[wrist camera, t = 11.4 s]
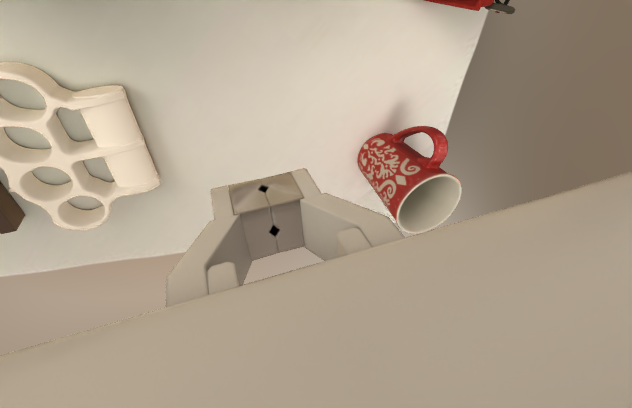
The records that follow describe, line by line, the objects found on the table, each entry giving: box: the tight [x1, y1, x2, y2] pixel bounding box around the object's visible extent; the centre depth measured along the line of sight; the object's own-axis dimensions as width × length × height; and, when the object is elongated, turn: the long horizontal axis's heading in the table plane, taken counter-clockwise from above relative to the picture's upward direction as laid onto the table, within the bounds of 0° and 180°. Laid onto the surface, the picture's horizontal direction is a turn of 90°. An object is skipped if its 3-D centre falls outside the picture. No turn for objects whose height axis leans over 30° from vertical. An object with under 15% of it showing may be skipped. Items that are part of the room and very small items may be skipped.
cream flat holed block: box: [0, 62, 161, 230], centre depth 35 cm, size 3×18×15 cm
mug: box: [358, 126, 462, 234], centre depth 45 cm, size 13×9×14 cm
